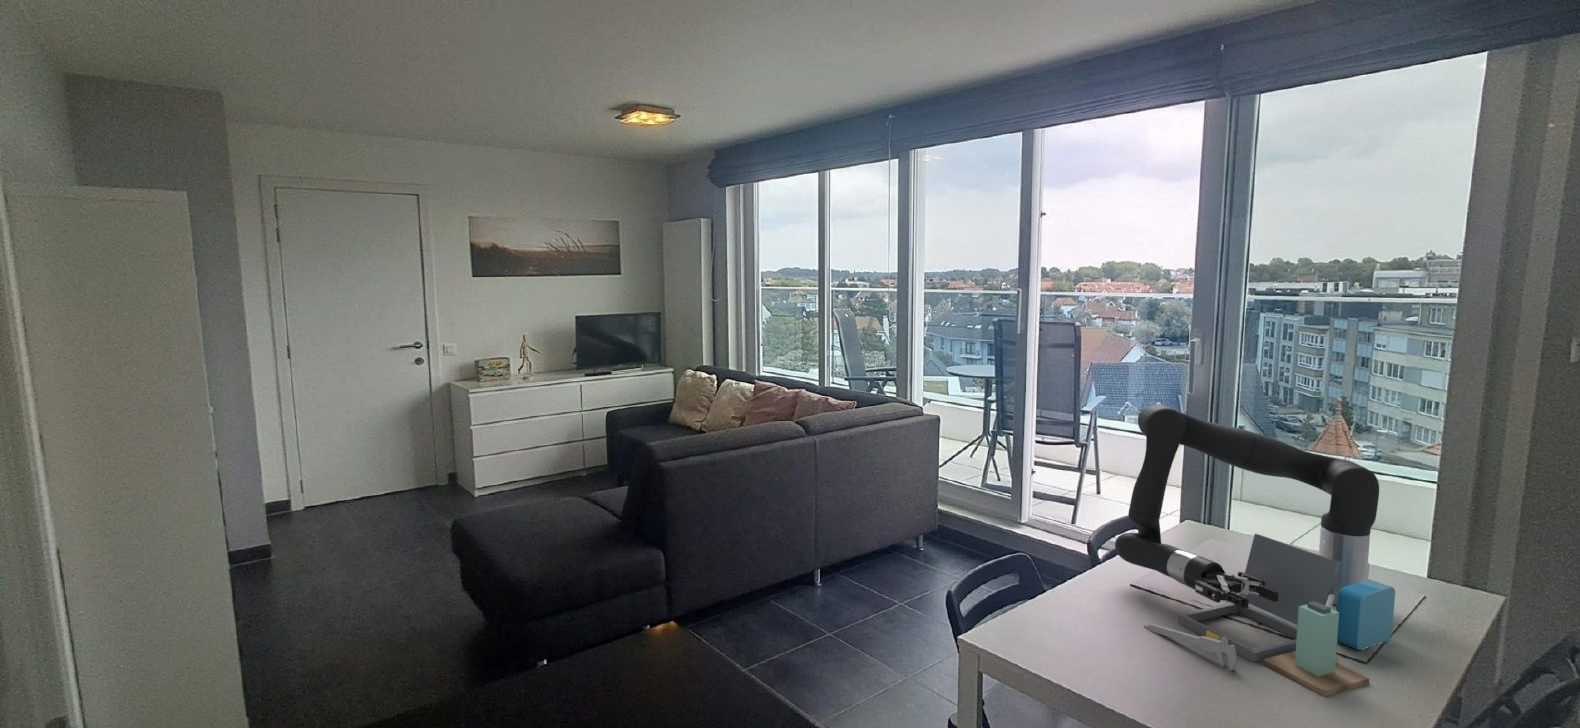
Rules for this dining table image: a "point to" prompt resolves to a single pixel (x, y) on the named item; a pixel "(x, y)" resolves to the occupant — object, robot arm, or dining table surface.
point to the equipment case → (1294, 581)
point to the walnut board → (1321, 684)
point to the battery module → (1316, 638)
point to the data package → (1365, 614)
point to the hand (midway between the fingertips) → (1262, 600)
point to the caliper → (1202, 644)
